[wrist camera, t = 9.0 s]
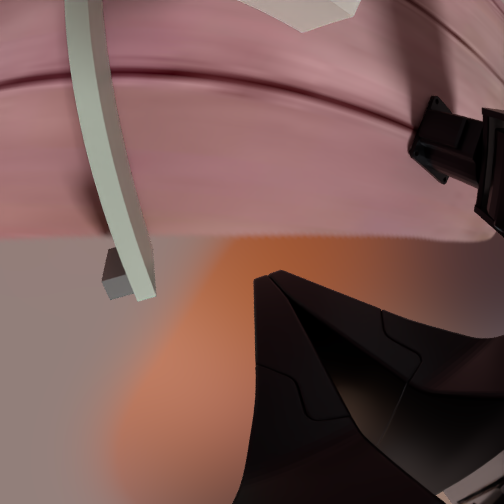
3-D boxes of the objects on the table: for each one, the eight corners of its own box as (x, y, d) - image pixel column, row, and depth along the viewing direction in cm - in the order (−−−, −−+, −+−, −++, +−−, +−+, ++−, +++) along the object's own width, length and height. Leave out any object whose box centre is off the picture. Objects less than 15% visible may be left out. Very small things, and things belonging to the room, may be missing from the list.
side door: (153, 249, 18) (156, 296, 14) (115, 259, 18) (109, 309, 14) (100, -34, 9) (87, -74, 4) (59, -20, 8) (34, -53, 4)
